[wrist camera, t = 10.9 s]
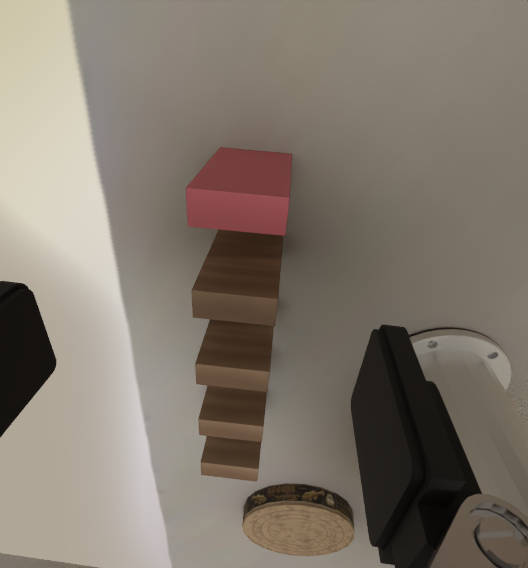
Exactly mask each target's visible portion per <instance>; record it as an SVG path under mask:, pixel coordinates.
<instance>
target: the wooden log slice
mask: <svg viewBox="0 0 528 568" xmlns="http://www.w3.org/2000/svg"><path fill="white" fill-rule="evenodd" d="M242 527H243V530H244V534H245V535H246V536H247V537H248V538H249V539H250V540H251V541H252V542H254V543H255V544H257V545H259V546H261V547H262V548H265V549H268V550H271V551H274V552H277V553H283V554H288V555H297V556H315V555H325V554H329V553H333V552H337V551H339V550H341V549H343V548H345V547H347V546H348V545H349V544H350V543H351V542H352V541H353V539H354V523H353V514H352V509H351V507H350V506H349V504H348V502H347V501H346V500H345V499H343V498H342V497H340V496H339V495H338V494H336V493H334V492H331V491H329V490H326V489H324V488H321V487H316V486H311V485H306V484H280V485H273V486H268V487H266V488H263V489H260V490H258V491H256V492H254V493H253V494H252V495H251V496H250V497H248V499H247V501H246V504H245V507H244V516H243V525H242Z"/></svg>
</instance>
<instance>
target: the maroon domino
mask: <svg viewBox="0 0 528 568" xmlns="http://www.w3.org/2000/svg"><path fill="white" fill-rule="evenodd" d="M291 162H292V154H287V153H276V152H265V151H254V150H243V149H232V148H221V147H220V149H219V150H218V151H217V152H216V153H215V154H214V156H213V157H212V158H211V159H210V160H209V161H208V163H207V164H206V165H205V166H204V167H203V169H202V170H201V171H200V172H199V173H198V174H197V176H196V177H195V178H194V179H193V180H192V181H191V183H190V184H189V185H188V186H187V187H186V198H187V216H188V226H189V227H200V228H210V229H220V230H230V231H241V232H251V233H261V234H271V235H282V236H285V234H286V225H287V216H288V207H289V199H290V181H291Z"/></svg>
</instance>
